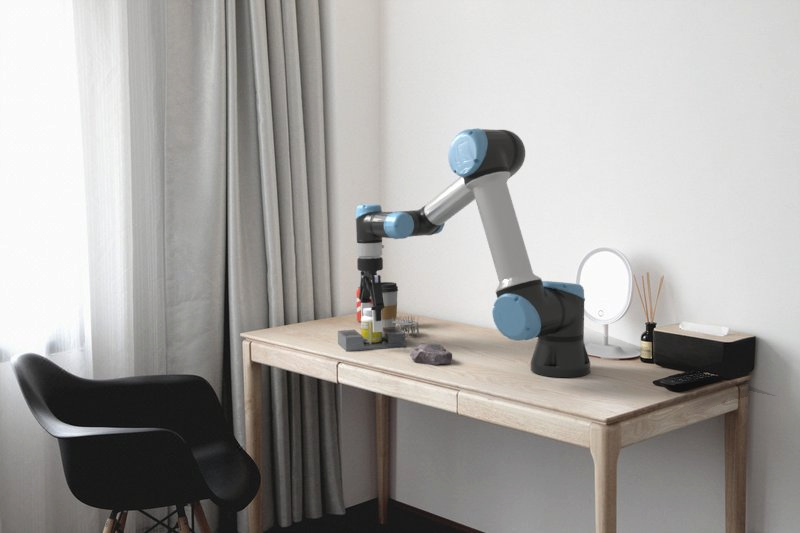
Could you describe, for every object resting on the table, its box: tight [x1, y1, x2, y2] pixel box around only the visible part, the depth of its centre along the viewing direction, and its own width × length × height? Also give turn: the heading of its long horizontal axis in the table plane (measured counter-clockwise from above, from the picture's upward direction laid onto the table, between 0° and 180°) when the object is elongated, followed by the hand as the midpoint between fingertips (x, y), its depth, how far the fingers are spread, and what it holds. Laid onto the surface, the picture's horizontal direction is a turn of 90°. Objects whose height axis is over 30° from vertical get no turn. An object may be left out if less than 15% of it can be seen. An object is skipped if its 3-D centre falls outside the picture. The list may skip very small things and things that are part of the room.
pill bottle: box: [360, 308, 382, 345], centre depth 248 cm, size 6×6×11 cm
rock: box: [409, 343, 453, 366], centre depth 226 cm, size 8×11×4 cm
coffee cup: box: [381, 281, 399, 328], centre depth 272 cm, size 8×8×15 cm
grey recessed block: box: [337, 326, 407, 352], centre depth 248 cm, size 11×18×4 cm, turn 107°
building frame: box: [392, 315, 420, 338], centre depth 261 cm, size 6×8×6 cm
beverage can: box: [355, 286, 373, 323], centre depth 286 cm, size 6×6×12 cm
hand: (371, 328), depth 248 cm, fingers open, 13 cm apart
